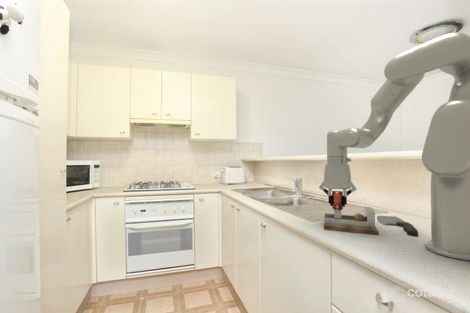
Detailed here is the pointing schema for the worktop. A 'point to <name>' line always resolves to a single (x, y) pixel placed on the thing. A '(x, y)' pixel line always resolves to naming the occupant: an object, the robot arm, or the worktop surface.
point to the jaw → (337, 203)
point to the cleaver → (398, 224)
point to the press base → (352, 229)
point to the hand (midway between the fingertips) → (337, 205)
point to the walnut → (359, 217)
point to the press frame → (349, 219)
